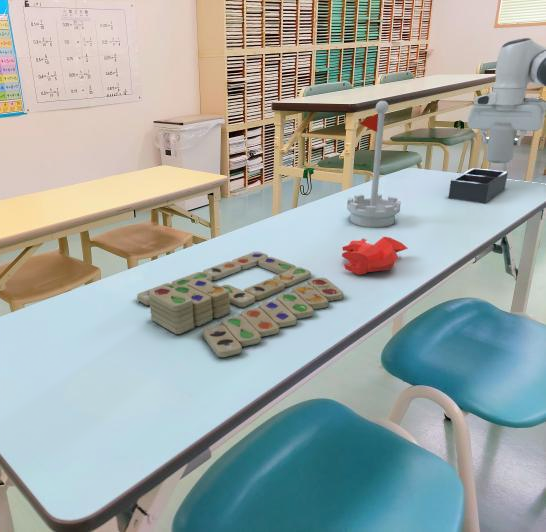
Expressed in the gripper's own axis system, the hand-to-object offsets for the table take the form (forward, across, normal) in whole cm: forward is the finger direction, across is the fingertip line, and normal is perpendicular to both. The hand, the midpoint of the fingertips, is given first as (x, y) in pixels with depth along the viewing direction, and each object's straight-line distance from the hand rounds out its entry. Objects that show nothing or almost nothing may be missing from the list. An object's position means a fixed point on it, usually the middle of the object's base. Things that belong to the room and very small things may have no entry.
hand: (500, 144), depth 161 cm
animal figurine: (+11, +1, +85) cm, 86 cm away
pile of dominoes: (+11, +12, +115) cm, 116 cm away
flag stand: (+11, +14, +58) cm, 60 cm away
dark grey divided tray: (+12, +1, +16) cm, 20 cm away
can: (+6, 0, 0) cm, 6 cm away
